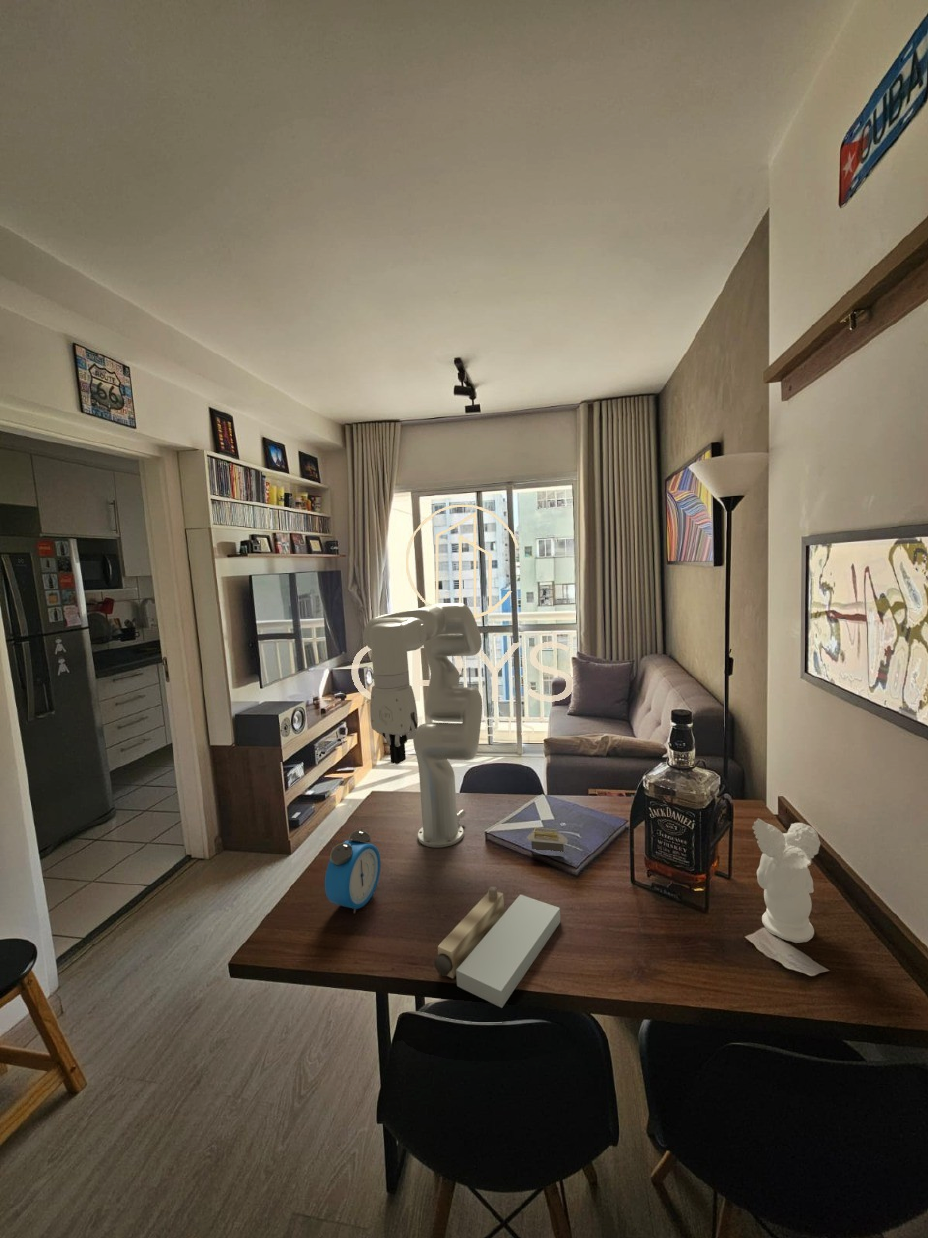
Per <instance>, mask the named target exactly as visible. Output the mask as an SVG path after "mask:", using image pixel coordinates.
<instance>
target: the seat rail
mask: <svg viewBox="0 0 928 1238" xmlns="http://www.w3.org/2000/svg"><path fill="white" fill-rule="evenodd" d="M560 923H561V907H558V906H555V905H552V904H549V903H546V902H543V901H540V900H537V899H535V898H532V897H529V896H527V895H524V894H519V896H517V898H516V899H515V900H514V901H513V903H512V904H511V905H510V906H509V907H508V908H507V910H506V911H504V914H503V916H502V917H501V918H500V919H499V920H498V921H497V923H496V924H495V925H494V926H493V927H492V928H491V930H490V931H489V932H488V933H487V934H486V936H485V937H484V938H483V939H482V940H481V941H480V943H479V944H478V945H477V946H476V947H475V948H474V950H473V951H472V952H471V953H470V954H469V956H468V957H467V958H466V959H465V960H464V961H463V963H462V964H461V965H460V966H459V967H458V968H457V970H456V976H455V977H456V986H457V987H458V988H460V989H462V990H463V991H466V992H468V993H470V994H472V995H475V996H476V997H478V998H481V999H483V1000H485V1001H487V1002H488V1003H490V1004H493V1005H495V1006H496V1007H499V1008H501V1009H502V1008H503V1007H504V1006H505V1004H506V1003H507V1002H508V1000H509V998H510V997H511V995H513V992H514V991H515V989H516V988H517V986H519V983H520V982H521V981H522V979H523V978H524V977H525V975H526V973H527V972H528V971H529V969H530V968H531V966H532V964H533V962H534V961H535V960H536V959H537V957H538V956H539V954H540V952H541V951H542V950H543V948H544V947H545V945H546V944H547V942H548V941H549V939H550V938H551V936H552V935H553V934H554V933H555V931H556V929H557V927H559V925H560Z"/></svg>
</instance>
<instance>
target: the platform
mask: <svg viewBox="0 0 928 1238" xmlns="http://www.w3.org/2000/svg"><path fill="white" fill-rule="evenodd" d="M526 841H527V842H531V850H532V849H536V850H551V851H552V850H553V851H560V852H561V851H562V852H564V850H565V848H564V845H567V844H568V838H567V837H566V836H564V835H563V834H562V833H561V832H559V831H558V829H557V828H556V829H554V828H542V827H534V830H533V831H532V832H530V833H529V834H528V835H527V836H526ZM564 853H565V852H564Z"/></svg>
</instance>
